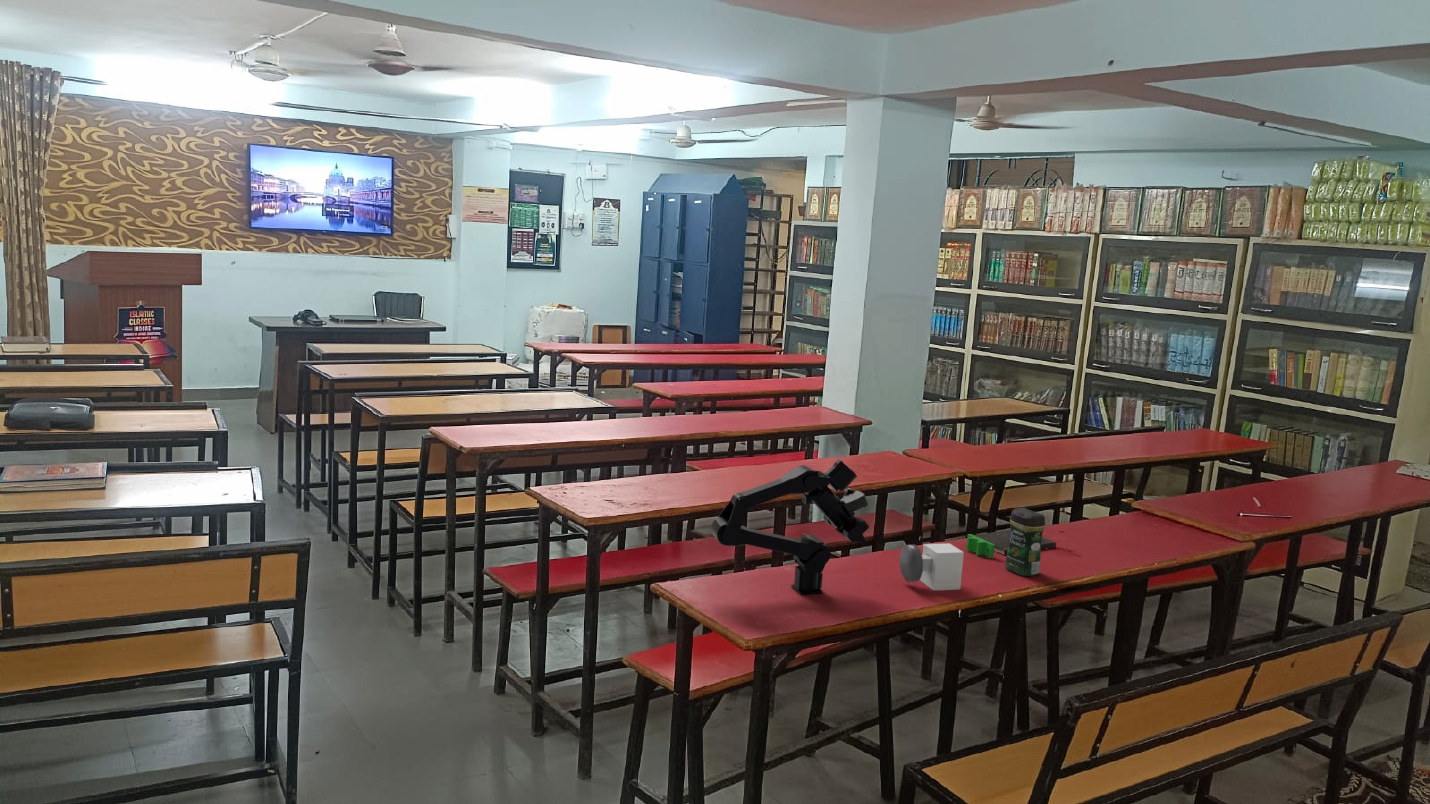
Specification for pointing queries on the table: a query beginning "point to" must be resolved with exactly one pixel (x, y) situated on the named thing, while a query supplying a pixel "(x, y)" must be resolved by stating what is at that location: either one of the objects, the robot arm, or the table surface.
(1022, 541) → the coffee jar
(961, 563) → the block
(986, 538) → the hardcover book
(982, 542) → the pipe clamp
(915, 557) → the knob
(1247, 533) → the table surface
